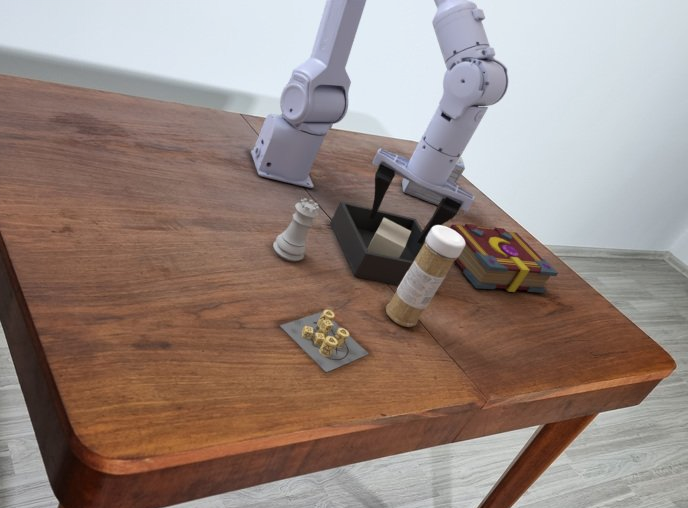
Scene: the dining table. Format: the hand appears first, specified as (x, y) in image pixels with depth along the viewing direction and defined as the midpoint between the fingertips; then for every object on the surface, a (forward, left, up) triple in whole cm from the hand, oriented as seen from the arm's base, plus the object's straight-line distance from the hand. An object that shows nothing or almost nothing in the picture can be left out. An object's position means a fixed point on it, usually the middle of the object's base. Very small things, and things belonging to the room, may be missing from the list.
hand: (396, 228), depth 101 cm
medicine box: (+17, +24, -5) cm, 30 cm away
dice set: (-15, -21, -5) cm, 26 cm away
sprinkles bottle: (-2, -14, -5) cm, 15 cm away
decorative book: (+22, +3, -5) cm, 23 cm away
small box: (0, 0, -5) cm, 5 cm away
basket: (0, 0, -5) cm, 5 cm away
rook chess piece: (-16, -4, -5) cm, 17 cm away
